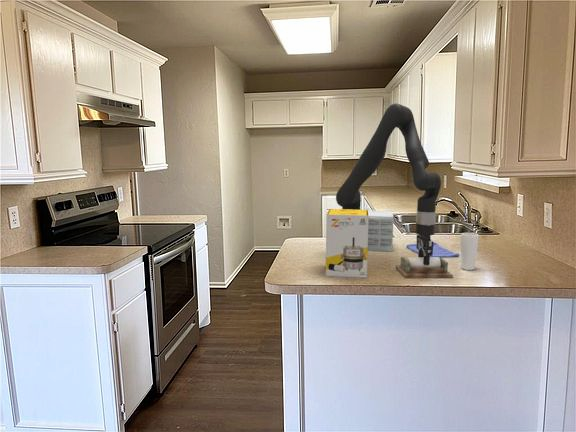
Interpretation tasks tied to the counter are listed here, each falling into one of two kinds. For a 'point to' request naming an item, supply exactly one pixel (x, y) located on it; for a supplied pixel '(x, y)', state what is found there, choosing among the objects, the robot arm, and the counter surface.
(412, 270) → the cradle
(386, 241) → the supplement box
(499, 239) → the counter surface
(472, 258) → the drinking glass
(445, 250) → the dish towel
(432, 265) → the roll
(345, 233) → the packaging box
